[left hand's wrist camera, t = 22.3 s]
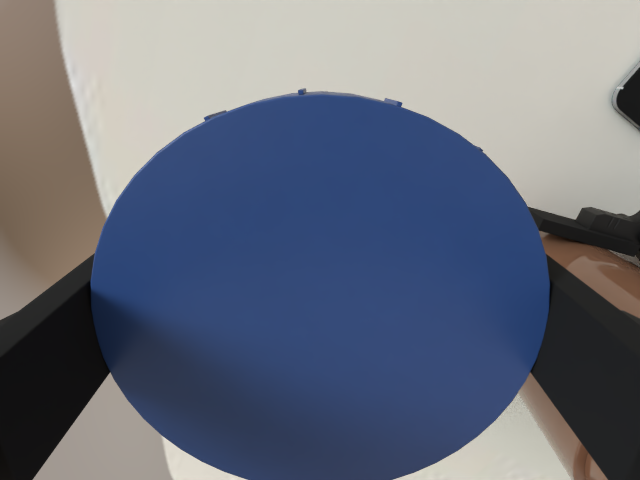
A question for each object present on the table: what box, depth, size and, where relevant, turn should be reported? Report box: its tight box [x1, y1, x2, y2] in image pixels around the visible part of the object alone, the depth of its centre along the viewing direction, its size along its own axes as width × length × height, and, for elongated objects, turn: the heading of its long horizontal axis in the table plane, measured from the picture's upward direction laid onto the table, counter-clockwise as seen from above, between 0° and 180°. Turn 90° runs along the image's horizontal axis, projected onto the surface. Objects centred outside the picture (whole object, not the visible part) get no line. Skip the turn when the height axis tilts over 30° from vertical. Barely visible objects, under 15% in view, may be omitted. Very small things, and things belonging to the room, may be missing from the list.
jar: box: [518, 231, 640, 480], centre depth 24 cm, size 10×10×20 cm
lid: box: [91, 89, 550, 480], centre depth 11 cm, size 11×11×2 cm
